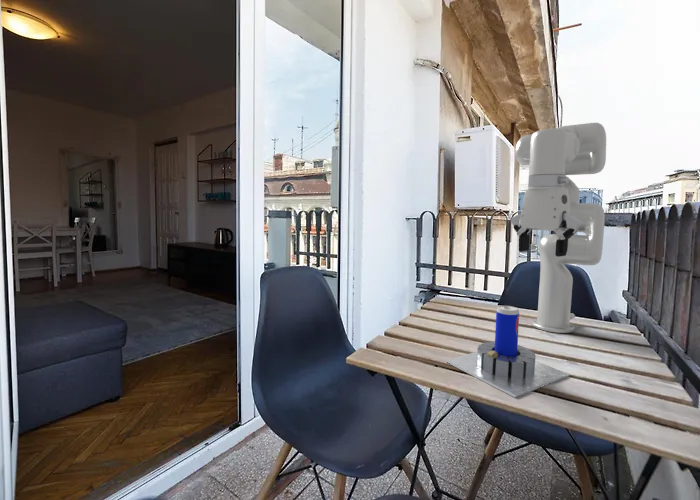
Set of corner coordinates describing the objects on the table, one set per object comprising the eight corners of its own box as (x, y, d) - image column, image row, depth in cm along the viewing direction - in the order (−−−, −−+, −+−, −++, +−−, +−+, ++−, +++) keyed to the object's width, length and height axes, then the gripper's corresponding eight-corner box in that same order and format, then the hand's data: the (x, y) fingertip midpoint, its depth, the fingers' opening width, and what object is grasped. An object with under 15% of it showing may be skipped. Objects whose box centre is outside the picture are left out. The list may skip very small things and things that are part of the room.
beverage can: (518, 371, 86) (522, 311, 84) (496, 370, 87) (499, 310, 85) (513, 362, 91) (516, 305, 89) (491, 361, 92) (494, 304, 90)
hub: (497, 347, 103) (498, 329, 102) (568, 376, 85) (570, 354, 85) (446, 362, 93) (447, 342, 92) (515, 397, 75) (516, 373, 75)
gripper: (592, 181, 80) (586, 256, 82) (523, 184, 95) (520, 248, 97) (573, 181, 76) (567, 259, 79) (504, 184, 91) (501, 250, 94)
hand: (541, 253), depth 88 cm, fingers open, 9 cm apart
